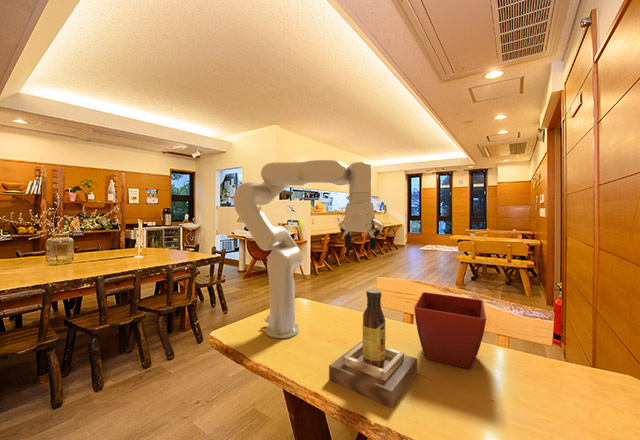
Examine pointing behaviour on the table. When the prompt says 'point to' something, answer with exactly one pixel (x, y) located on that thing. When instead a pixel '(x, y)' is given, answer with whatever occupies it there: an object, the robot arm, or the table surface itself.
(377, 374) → the condiment stand
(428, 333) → the plant pot
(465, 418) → the table surface
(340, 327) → the table surface
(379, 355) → the sauce bottle
